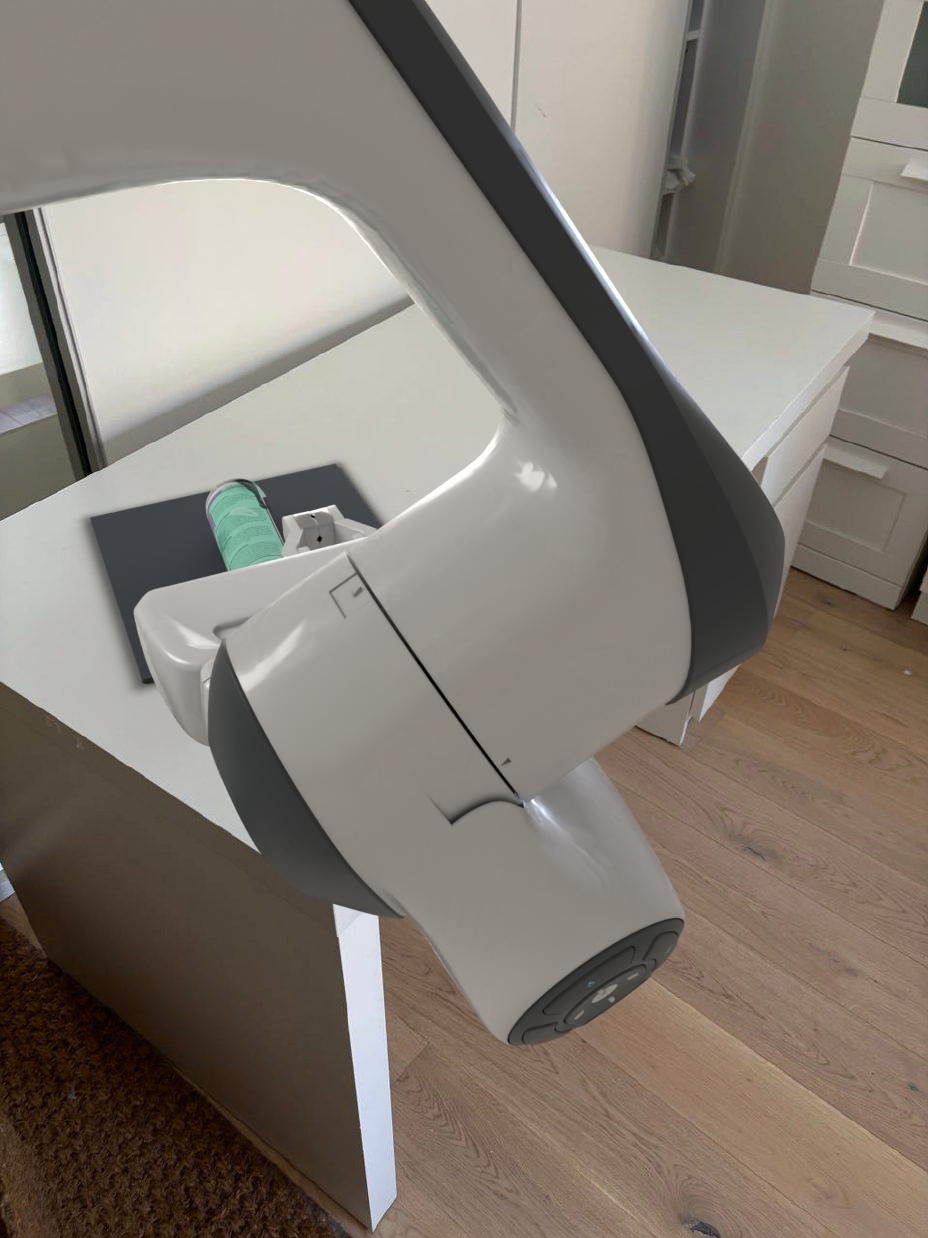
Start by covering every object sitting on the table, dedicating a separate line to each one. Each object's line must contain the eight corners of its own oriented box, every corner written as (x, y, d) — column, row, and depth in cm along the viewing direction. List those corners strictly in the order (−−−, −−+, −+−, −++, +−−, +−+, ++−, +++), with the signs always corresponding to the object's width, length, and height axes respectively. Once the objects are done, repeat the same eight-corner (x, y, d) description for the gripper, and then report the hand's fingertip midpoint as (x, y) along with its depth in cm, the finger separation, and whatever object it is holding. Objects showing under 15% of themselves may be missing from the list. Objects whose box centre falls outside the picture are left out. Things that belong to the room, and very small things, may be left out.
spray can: (334, 612, 75) (271, 485, 90) (284, 580, 72) (226, 452, 86) (287, 659, 76) (232, 526, 91) (235, 630, 73) (186, 496, 87)
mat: (143, 683, 73) (142, 679, 73) (90, 520, 90) (89, 517, 89) (432, 602, 81) (432, 598, 81) (335, 466, 98) (335, 463, 97)
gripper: (621, 568, 44) (484, 430, 53) (166, 700, 37) (101, 514, 46) (605, 671, 48) (480, 525, 57) (192, 807, 41) (128, 616, 50)
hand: (308, 521), depth 52 cm, fingers closed
